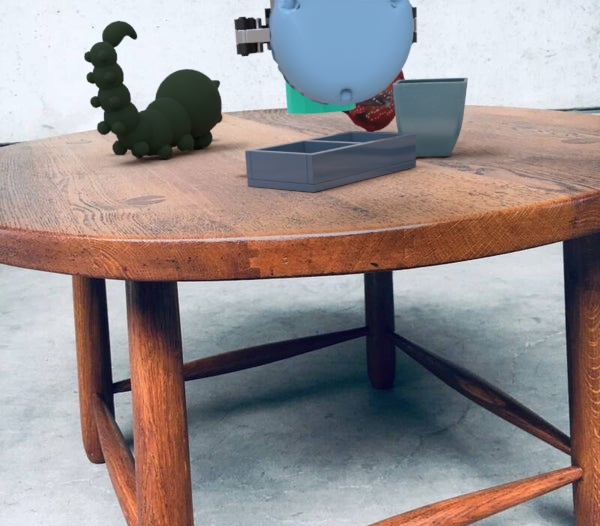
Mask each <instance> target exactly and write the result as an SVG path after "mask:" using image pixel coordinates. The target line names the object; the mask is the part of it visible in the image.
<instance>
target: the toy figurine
mask: <svg viewBox="0 0 600 526" xmlns="http://www.w3.org/2000/svg"><path fill="white" fill-rule="evenodd" d="M125 37H129V38H130V39H132V40H134V41H135V40H138V34H137V31H136V30H135V28H134V26H132V25H131V24H130V23H128V22H127V21H122V20H116V21H113V22H110V23H108V24H107V25H106V26H105V27H104V29H103V30H102V34H101V39H102V41H98V42H96V43H94V44H93V45H92V46H91V48H90V50H88V51H86V52H85V53H84V55H83V58H84V61H85V62H86V63H90V64H91V65H92V66H93V69H92V71H89V72H88V73H87V74H86V81H87V83H89V84H92V85H94V84H95V86H96V87H97V88H98V91H97V95H94V96H92V97H91V98H90V100H89V103H90V105H91V106H92V108H94V109H98V108H101V110H103V120H101V121H99V122H98V123H97V125H96V131H97V132H98V133H99V134H100V135H102V136H106V135H108V134H109V133H110V132H111V133H112V134H114V135H115V136H116V138H117V139H116V140H115V141H114V142H113V143H112V145H111V146H112V147H111V149H112V151H113V153H114V154H115V155H116V156H125V155H126V154H127V153H128V152H129V151H130V153H131V155H132V156H133V157H135V158H137V159H142V158H143V157H146V156H147V157H155V156H158V157H159V158H161V159H163V160H168V159H169V158H172V156H173V153H174V150H173V148H177V150H178V151H180V152H191V150H192V149H193V150H201V149H206V148H208V147H209V146H210V145H211V144H212V142H213V138H214V137H213V134H212V132H211V130H213V129H214V128H215V127H216V126H217V125H218V124H219V123H222V121H223V114H222V111H223V109H222V107H223V104H222V103H223V102H222V96H221V94H220V91H219V88H220V85H221V81H220V80H219V79H211V78H210V77H209V76H208V75H207V74H205V73H204V72H202V71H199V70H195V69H193V68H192V69H191V68H184V69H183V68H182V69H178V70H175V71H173V72H172V73H169V74H168V75H167V76H166V77H165V78H164V79H163V80H162V81H161V82H160V84H159V86H158V88H157V90H156V93H155V97H154V100H153V101H151V102H150V103H148V105H147V107H146V108H145V109H143V110H138V107H137V106H136V105H135V104H134V103H133V102H132V96H131V92H130V90H129V88H128V87H127V85H126V84H125V83H124V81H125V75H124V74H125V73H124V70H123V68H122V67H121V65H120V64H119V63H118V53H117V51H116V47H117V48H118V46H120V44H121V43H122V41H123V40H124V38H125Z"/></svg>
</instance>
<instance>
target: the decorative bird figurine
mask: <svg viewBox="0 0 600 526" xmlns="http://www.w3.org/2000/svg"><path fill="white" fill-rule="evenodd" d="M398 80H406V78H405V74H404V72H403V69H402V70H401V71H400V73H399V74H398V76H397V77H396V78H395V79H394V80H393V82H392V83H391V84H390V85H389V86H388V87H387V88H386V89H384V90H383V91H382V92H380V93H379V94H377V95H375V96H374V97H372V98H370V99H368V100H365V101H362V102H359V103H355V108H354V109H352V110H347V111H341V112H340V113H344V114H345V115H347V116H348V118H349V119H350V120H351V121H352V123H353V124H354V125H355V126H357V127H360V128H361V129H363V130H365V132H379V131H381V130H383V129H385V128H387V127H388V126H389V125H390V124H391V123H392V121H394V119H395V118H396V116H395V105H394V95H393V83H395V82H397V81H398Z"/></svg>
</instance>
